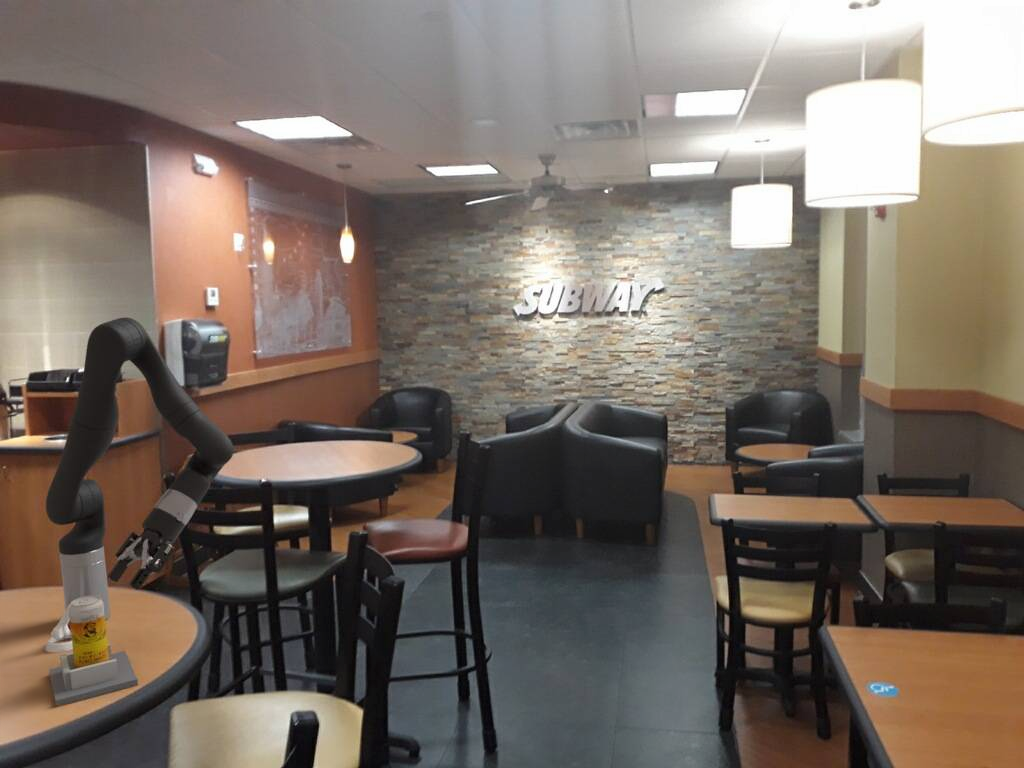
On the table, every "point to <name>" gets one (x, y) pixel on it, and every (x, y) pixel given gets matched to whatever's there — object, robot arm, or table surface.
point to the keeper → (91, 678)
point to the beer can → (88, 631)
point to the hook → (60, 635)
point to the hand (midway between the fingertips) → (122, 583)
